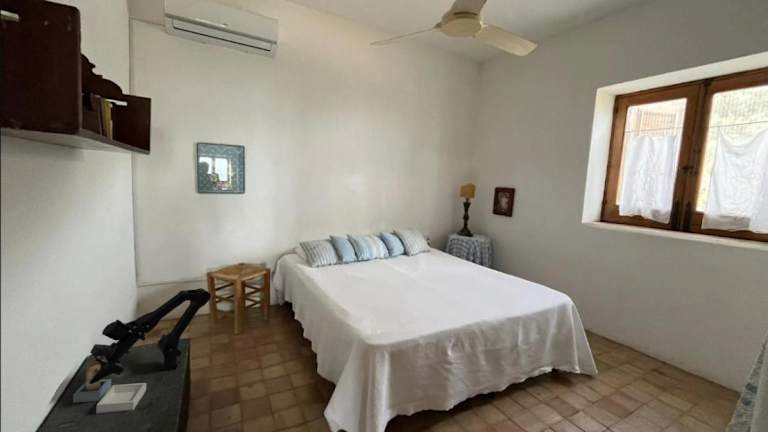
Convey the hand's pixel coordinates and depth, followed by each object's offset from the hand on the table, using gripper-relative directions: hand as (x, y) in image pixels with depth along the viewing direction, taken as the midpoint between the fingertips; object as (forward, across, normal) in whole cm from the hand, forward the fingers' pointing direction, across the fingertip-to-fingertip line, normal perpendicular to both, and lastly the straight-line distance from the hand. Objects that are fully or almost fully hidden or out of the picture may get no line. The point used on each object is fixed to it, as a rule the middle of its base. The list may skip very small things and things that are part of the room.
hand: (88, 380), depth 124 cm
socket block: (+4, 0, +6) cm, 7 cm away
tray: (-1, +12, +10) cm, 16 cm away
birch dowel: (+4, 0, +6) cm, 7 cm away
